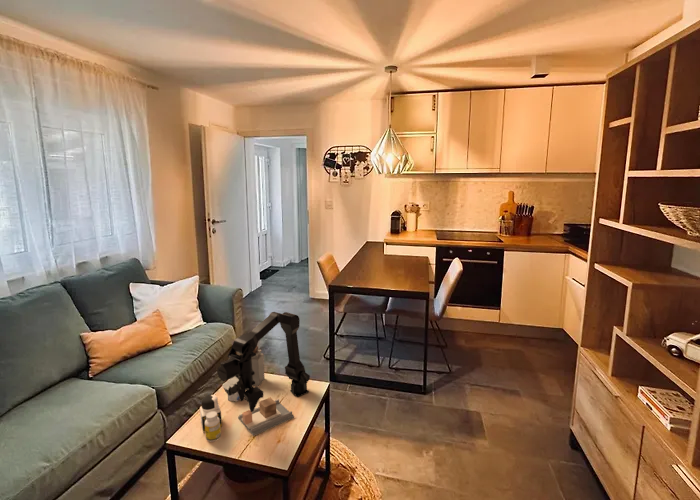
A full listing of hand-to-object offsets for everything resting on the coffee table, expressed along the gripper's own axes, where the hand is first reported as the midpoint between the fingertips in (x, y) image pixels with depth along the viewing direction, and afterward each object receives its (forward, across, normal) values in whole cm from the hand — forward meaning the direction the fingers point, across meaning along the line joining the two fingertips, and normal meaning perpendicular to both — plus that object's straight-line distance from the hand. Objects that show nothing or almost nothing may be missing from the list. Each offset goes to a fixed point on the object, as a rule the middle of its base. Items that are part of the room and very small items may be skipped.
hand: (246, 405), depth 148 cm
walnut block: (+7, 0, +9) cm, 11 cm away
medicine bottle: (+9, -10, -11) cm, 17 cm away
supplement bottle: (+9, -2, -13) cm, 16 cm away
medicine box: (+9, -23, +5) cm, 25 cm away
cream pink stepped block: (+8, 0, +6) cm, 10 cm away
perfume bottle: (+9, -29, +17) cm, 35 cm away
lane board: (+9, 0, +8) cm, 12 cm away
